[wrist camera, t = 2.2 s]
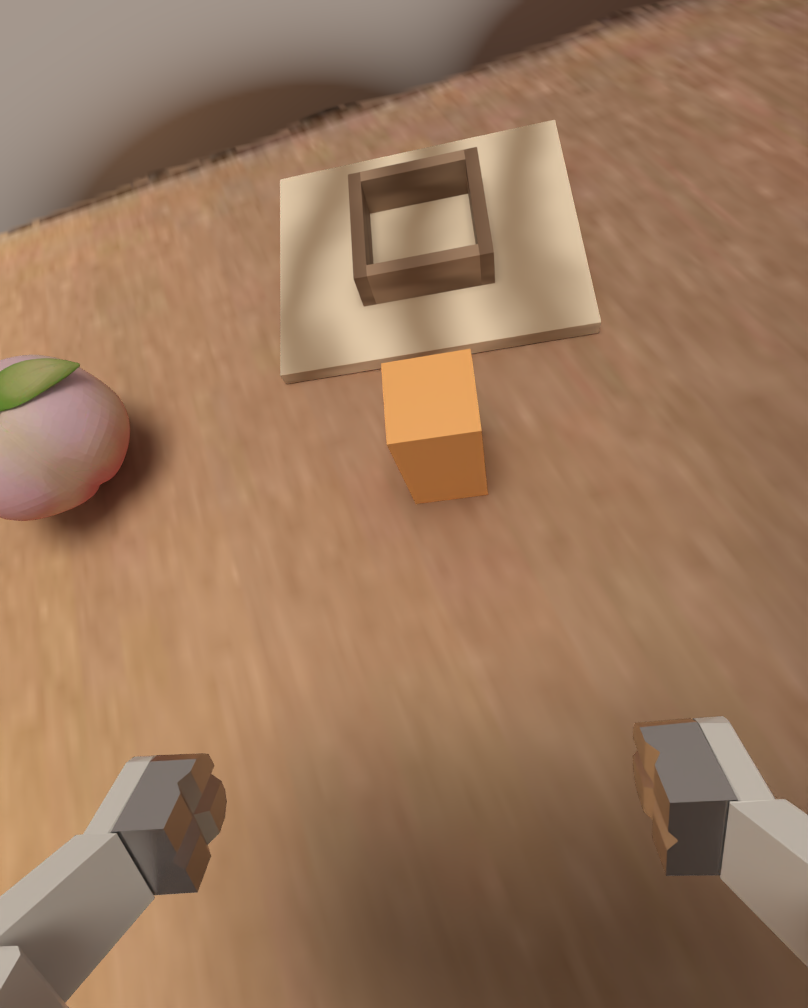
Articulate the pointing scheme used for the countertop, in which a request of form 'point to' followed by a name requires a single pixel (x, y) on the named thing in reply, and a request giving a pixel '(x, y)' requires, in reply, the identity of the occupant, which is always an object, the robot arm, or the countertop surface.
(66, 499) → the decorative fruit
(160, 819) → the robot arm
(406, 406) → the orange cap block
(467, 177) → the socket board
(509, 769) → the countertop surface
